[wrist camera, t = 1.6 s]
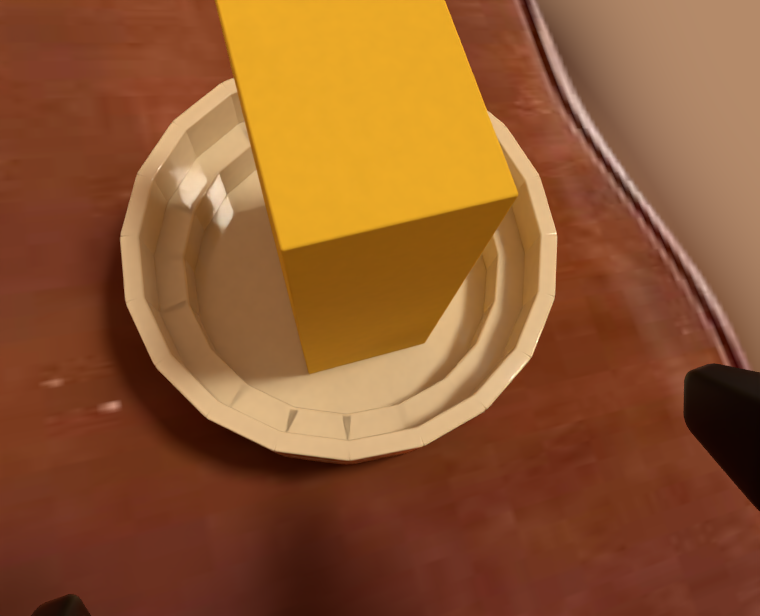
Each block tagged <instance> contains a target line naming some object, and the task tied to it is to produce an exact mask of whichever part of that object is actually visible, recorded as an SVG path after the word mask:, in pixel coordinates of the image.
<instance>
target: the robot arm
mask: <svg viewBox="0 0 760 616" xmlns="http://www.w3.org/2000/svg"><path fill="white" fill-rule="evenodd" d="M684 419H685V422H686V425H687V427H688V428H689V430H690V431H691V433H692V434H693V435H694V436H695V437H696V439H697V440H698V441H699V442H700V443H701V444H702V446H703V447H704V448H705V449H706V450H707V451H708V453H709V454H710V455H711V456H712V457H713V458H714V460H715V461H716V462H717V463H718V464H719V465H720V467H721V468H722V469H723V470H724V471H725V472H726V474H727V475H728V476H729V477H730V478H731V480H732V481H733V482H734V483H735V484H736V485H737V487H738V488H739V489H740V490H741V491H742V492H743V494H744V495H745V496H746V497H747V498H748V499H749V500H750V501H751V503H752V504H753V505H754V506H755V507H756V508H757V509H758V510H759V511H760V372H755V371H750V370H745V369H740V368H735V367H730V366H725V365H720V364H707V365H705V366H702V367H699V368H696V369H693V370H691V371H689V372H688V373H687V374H686V376H685V380H684ZM31 616H91V615H90V613H89V612H88V610H87V608H86V607H85V605H84V604H83V602H82V600H81V599H80V598H79V597H78V596H76V595H74V594H69V595H65V596H63V597H60V598H57V599H54V600H52V601H49V602H46V603H44V604H42V605H40V606H39V607H38V608H37V609H36V610H35V611H34V612H33V614H32V615H31Z"/></svg>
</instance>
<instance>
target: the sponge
mask: <svg viewBox="0 0 760 616" xmlns="http://www.w3.org/2000/svg"><path fill="white" fill-rule="evenodd" d="M215 3H216V7H217V11H218V16H219V20H220V24H221V28H222V32H223V36H224V40H225V44H226V48H227V52H228V56H229V60H230V64H231V68H232V72H233V76H234V80H235V85H236V89H237V93H238V97H239V101H240V105H241V109H242V113H243V117H244V121H245V125H246V129H247V133H248V137H249V141H250V145H251V149H252V154H253V158H254V162H255V166H256V170H257V174H258V178H259V182H260V186H261V190H262V194H263V198H264V202H265V206H266V210H267V214H268V218H269V222H270V226H271V230H272V234H273V237H274V241H275V245H276V249H277V253H278V257H279V261H280V265H281V269H282V272H283V276H284V280H285V284H286V288H287V292H288V296H289V300H290V304H291V307H292V311H293V315H294V319H295V323H296V327H297V331H298V335H299V339H300V342H301V346H302V350H303V354H304V358H305V362H306V366H307V370H308V373H309V374H312V373H315V372H319V371H323V370H327V369H330V368H334V367H338V366H342V365H345V364H349V363H353V362H357V361H360V360H364V359H368V358H371V357H375V356H379V355H383V354H386V353H390V352H394V351H398V350H401V349H405V348H409V347H413V346H416V345H420V344H424V343H425V342H426V340H427V339H428V337H429V336H430V334H431V332H432V331H433V329H434V328H435V326H436V325H437V323H438V321H439V320H440V318H441V317H442V315H443V314H444V312H445V310H446V309H447V307H448V306H449V304H450V302H451V301H452V299H453V298H454V296H455V295H456V293H457V291H458V290H459V288H460V287H461V285H462V284H463V282H464V280H465V279H466V277H467V276H468V274H469V272H470V271H471V269H472V268H473V266H474V265H475V263H476V261H477V260H478V258H479V257H480V255H481V254H482V252H483V250H484V249H485V247H486V246H487V244H488V242H489V241H490V239H491V238H492V236H493V235H494V233H495V231H496V230H497V228H498V227H499V225H500V224H501V222H502V220H503V219H504V217H505V216H506V214H507V212H508V211H509V209H510V208H511V206H512V205H513V203H514V201H515V200H516V198H517V197H518V191H517V188H516V185H515V183H514V180H513V178H512V175H511V172H510V170H509V167H508V164H507V162H506V159H505V157H504V154H503V151H502V149H501V146H500V144H499V141H498V138H497V136H496V133H495V130H494V128H493V125H492V123H491V120H490V117H489V115H488V112H487V110H486V107H485V104H484V102H483V99H482V96H481V94H480V91H479V89H478V86H477V83H476V81H475V78H474V75H473V73H472V70H471V68H470V65H469V62H468V60H467V57H466V55H465V52H464V49H463V47H462V44H461V41H460V39H459V36H458V34H457V31H456V28H455V26H454V23H453V20H452V18H451V15H450V13H449V10H448V7H447V5H446V2H445V0H215Z"/></svg>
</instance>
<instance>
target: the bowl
mask: <svg viewBox="0 0 760 616" xmlns="http://www.w3.org/2000/svg"><path fill="white" fill-rule="evenodd" d="M487 112H488V111H487ZM488 115H489V117H490V120H491V123H492V125H493V128H494V130H495V133H496V136H497V138H498V141H499V144H500V146H501V149H502V151H503V154H504V157H505V159H506V162H507V164H508V167H509V170H510V172H511V175H512V178H513V180H514V183H515V185H516V188H517V191H518V197H517V198H516V200H515V201H514V203H513V205H512V206H511V208H510V209H509V211H508V212H507V214H506V216H505V217H504V219H503V220H502V222H501V224H500V225H499V227H498V228H497V230H496V231H495V233H494V235H493V236H492V238H491V239H490V241H489V242H488V244H487V246H486V247H485V249H484V250H483V252H482V254H481V255H480V257H479V258H478V260H477V261H476V263H475V265H474V266H473V268H472V269H471V271H470V272H469V274H468V276H467V277H466V279H465V280H464V282H463V284H462V285H461V287H460V288H459V290H458V291H457V293H456V295H455V296H454V298H453V299H452V301H451V302H450V304H449V306H448V307H447V309H446V310H445V312H444V314H443V315H442V317H441V318H440V320H439V321H438V323H437V325H436V326H435V328H434V329H433V331H432V332H431V334H430V336H429V337H428V339H427V340H426V342H425V343H424V344H420V345H416V346H413V347H409V348H405V349H401V350H398V351H394V352H390V353H386V354H383V355H379V356H375V357H371V358H368V359H364V360H360V361H357V362H353V363H349V364H345V365H342V366H338V367H334V368H330V369H327V370H323V371H319V372H315V373H312V374H309V373H308V370H307V366H306V362H305V358H304V354H303V350H302V346H301V342H300V339H299V335H298V331H297V327H296V323H295V319H294V315H293V311H292V307H291V304H290V300H289V296H288V292H287V288H286V284H285V280H284V276H283V272H282V269H281V265H280V261H279V257H278V253H277V249H276V245H275V241H274V237H273V234H272V230H271V226H270V222H269V218H268V214H267V210H266V206H265V202H264V198H263V194H262V190H261V186H260V182H259V178H258V174H257V170H256V166H255V162H254V158H253V154H252V149H251V145H250V141H249V137H248V133H247V129H246V125H245V121H244V117H243V113H242V109H241V105H240V101H239V97H238V93H237V89H236V85H235V80H234V78H232V79H230V80H227V81H225V82H222V84H219V85H218V86H217V87H215V88H214V89H213V90H212V91H210V92H209V93H208V94H206V95H205V96H204V97H203V98H201V99H200V100H199V101H198V102H196V103H195V104H194V105H193V106H191V107H190V108H189V109H187V110H186V111H185V112H184V113H182V114H181V115H180V116H179V117H177V118H176V119H175V120H174V121H173V123H171V124H170V126H169V127H168V129H167V130H166V132H165V133H164V134H163V136H162V137H161V139H160V140H159V142H158V143H157V145H156V146H155V148H154V149H153V151H152V152H151V154H150V155H149V157H148V158H147V160H146V161H145V163H144V164H143V166H142V167H141V168H140V170H139V171H138V173H137V176H136V179H135V183H134V186H133V190H132V194H131V197H130V201H129V205H128V208H127V212H126V216H125V220H124V223H123V227H122V231H121V234H120V236H121V237H120V246H121V258H122V270H123V283H124V295H125V302H126V306H127V308H128V310H129V313H130V315H131V317H132V319H133V321H134V323H135V326H136V328H137V330H138V332H139V334H140V336H141V339H142V341H143V343H144V345H145V347H146V349H147V351H148V354H149V356H150V358H151V360H152V362H153V364H154V365H155V366H156V369H157V370H158V371H159V372H160V373H161V374H162V375H163V376H164V377H165V378H166V379H167V380H168V381H169V382H170V383H171V384H172V385H173V386H174V387H175V388H176V389H177V390H178V391H179V392H180V393H181V394H182V395H183V396H184V397H185V398H186V399H187V400H188V401H189V402H190V403H191V404H192V405H193V406H194V407H195V408H196V409H197V410H198V411H199V412H200V413H201V414H202V415H203V416H204V417H206V418H207V419H208V420H210V421H212V422H214V423H216V424H218V425H220V426H222V427H223V428H225V429H227V430H229V431H231V432H233V433H235V434H237V435H239V436H241V437H244V438H246V439H248V440H250V441H252V442H254V443H256V444H258V445H260V446H262V447H264V448H266V449H268V450H270V451H272V452H274V453H276V454H278V455H280V456H285V457H288V458H296V459H304V460H311V461H319V462H327V463H335V464H343V465H345V464H348V465H350V464H355V463H360V462H365V461H370V460H376V459H381V458H386V457H391V456H396V455H401V454H406V453H409V452H412V451H414V450H417V449H419V448H421V447H423V446H425V445H427V444H429V443H431V442H432V441H434V440H436V439H438V438H439V437H441V436H443V435H445V434H446V433H448V432H450V431H452V430H453V429H455V428H457V427H458V426H460V425H462V424H464V423H465V422H467V421H469V420H471V419H472V418H474V417H476V416H478V415H479V414H481V413H483V412H484V411H485V410H486V409H488V408H489V407H490V406H491V404H492V403H493V402H494V401H495V400H496V399H497V397H498V396H499V395H500V394H501V393H502V392H503V391H504V389H505V388H506V387H507V386H508V385H509V384H510V382H511V381H512V380H513V379H514V378H515V377H516V376H517V374H518V373H519V372H520V371H521V370H522V369H523V367H524V366H525V365H526V364H527V363H528V362H529V361H530V358H531V357H532V355H533V353H534V350H535V348H536V345H537V343H538V340H539V338H540V335H541V332H542V330H543V327H544V325H545V322H546V320H547V317H548V315H549V312H550V309H551V307H552V304H553V302H554V297H555V284H556V256H557V232H556V229H555V226H554V222H553V219H552V216H551V212H550V209H549V205H548V202H547V199H546V195H545V192H544V189H543V185H542V182H541V178H540V177H539V174H538V173H537V171H536V170H535V168H534V167H533V165H532V164H531V162H530V161H529V159H528V158H527V156H526V155H525V153H524V152H523V150H522V149H521V148H520V146H519V145H518V143H517V142H516V140H515V139H514V137H513V136H512V134H511V133H510V131H509V130H508V128H507V127H506V126H505V125H504V124H503V123H502V122H501V121H499V120H498V119H497V118H496V117H494V116H493V115H492V114H491V113H490V112H488Z"/></svg>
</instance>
